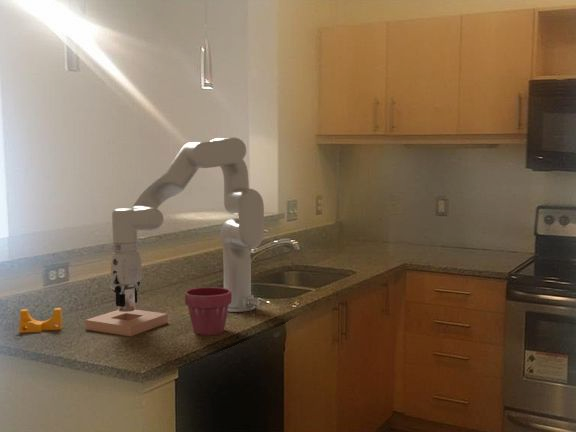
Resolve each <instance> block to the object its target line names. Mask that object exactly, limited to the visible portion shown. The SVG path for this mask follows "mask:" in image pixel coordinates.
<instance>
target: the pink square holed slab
mask: <svg viewBox="0 0 576 432" xmlns="http://www.w3.org/2000/svg"><path fill="white" fill-rule="evenodd" d="M84 323H85V330H88V331H95V332H101V333H107V334H114V335H119V336H127V337H134V336H136V335H140V334H141V333H144V332H146V331H149V330H152V329H155V328H157V327H160V326H164V325H166V324H167V323H168V313H164V312H156V311H149V310H148V311H147V310H143V309H142V310H141V309H135V310H134V311H129V312H121V311H118V309H116V310H114V311H110V312H107V313H103V314H100V315H96V316H94V317H90V318H86V319H85V322H84Z"/></svg>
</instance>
